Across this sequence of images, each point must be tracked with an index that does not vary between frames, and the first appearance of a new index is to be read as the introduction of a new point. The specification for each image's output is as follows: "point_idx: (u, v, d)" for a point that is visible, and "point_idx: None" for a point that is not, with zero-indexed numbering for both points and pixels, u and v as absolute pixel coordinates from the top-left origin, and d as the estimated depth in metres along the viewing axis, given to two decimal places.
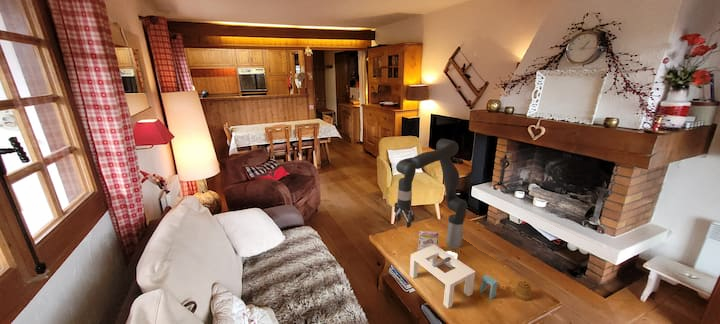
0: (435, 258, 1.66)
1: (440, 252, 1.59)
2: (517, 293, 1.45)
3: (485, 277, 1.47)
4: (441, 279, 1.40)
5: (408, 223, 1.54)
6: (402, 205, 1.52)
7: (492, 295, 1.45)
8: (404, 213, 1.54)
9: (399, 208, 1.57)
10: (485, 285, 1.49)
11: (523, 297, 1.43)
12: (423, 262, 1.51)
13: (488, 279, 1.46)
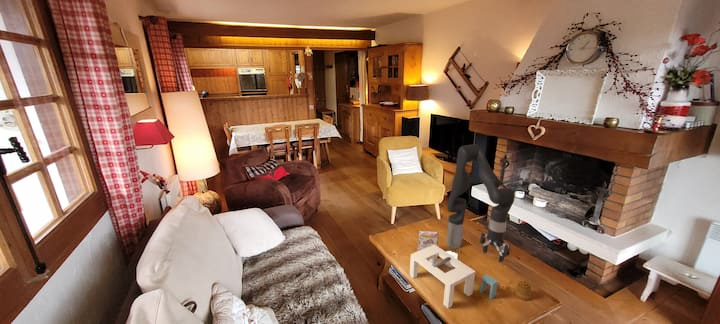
0: (435, 258, 1.66)
1: (440, 252, 1.59)
2: (517, 293, 1.45)
3: (485, 277, 1.47)
4: (441, 279, 1.40)
5: (501, 257, 1.36)
6: (496, 237, 1.35)
7: (492, 295, 1.45)
8: (497, 246, 1.36)
9: (489, 240, 1.39)
10: (485, 285, 1.49)
11: (523, 297, 1.43)
12: (423, 262, 1.51)
13: (488, 279, 1.46)
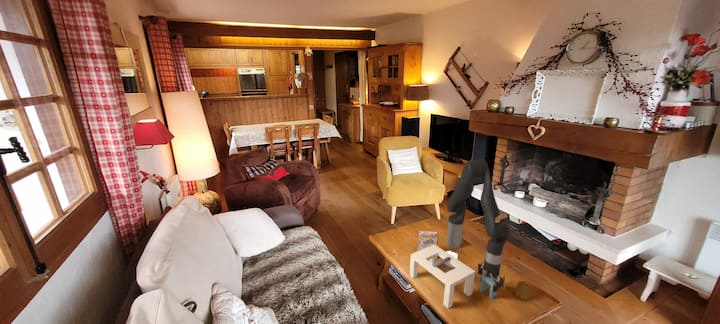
0: (435, 258, 1.66)
1: (440, 252, 1.59)
2: (517, 293, 1.45)
3: (485, 277, 1.47)
4: (441, 279, 1.40)
5: (495, 288, 1.43)
6: (492, 269, 1.40)
7: (492, 295, 1.45)
8: (492, 277, 1.42)
9: (485, 270, 1.44)
10: (485, 285, 1.49)
11: (523, 297, 1.43)
12: (423, 262, 1.51)
13: (488, 279, 1.46)
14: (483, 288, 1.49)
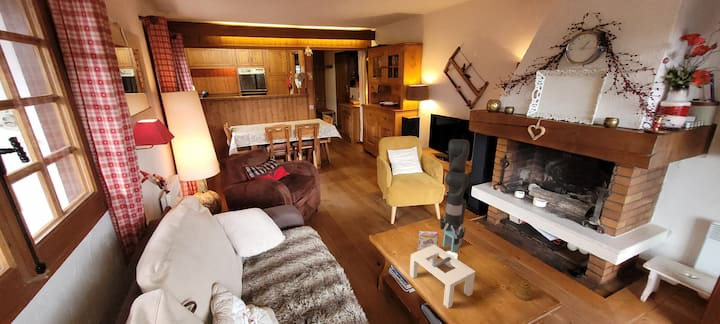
0: (435, 258, 1.66)
1: (440, 252, 1.59)
2: (517, 293, 1.45)
3: (447, 231, 1.45)
4: (441, 279, 1.40)
5: (456, 240, 1.41)
6: (452, 220, 1.38)
7: (454, 248, 1.43)
8: (453, 229, 1.41)
9: (447, 223, 1.43)
10: (448, 240, 1.48)
11: (523, 297, 1.43)
12: (423, 262, 1.51)
13: (450, 232, 1.44)
14: (445, 243, 1.48)
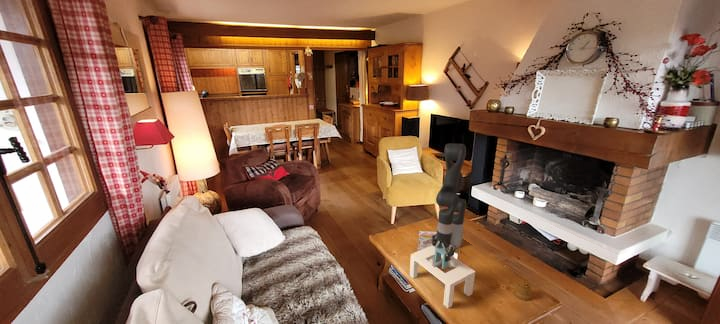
0: None
1: None
2: (517, 293, 1.45)
3: (438, 248, 1.50)
4: (441, 279, 1.40)
5: (447, 257, 1.45)
6: (442, 238, 1.43)
7: (444, 265, 1.48)
8: (444, 247, 1.45)
9: (438, 241, 1.47)
10: (439, 256, 1.52)
11: (523, 297, 1.43)
12: (423, 262, 1.51)
13: (441, 249, 1.49)
14: (437, 259, 1.52)
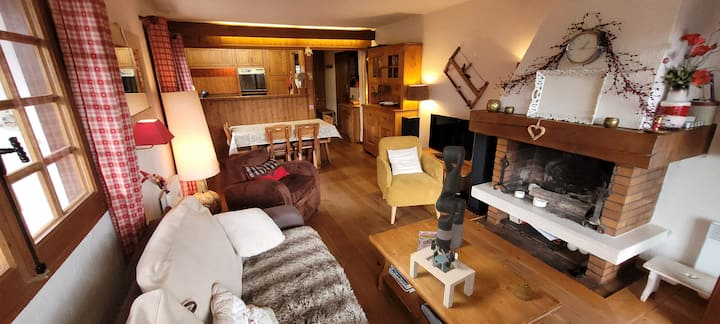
0: None
1: (440, 252, 1.59)
2: (517, 293, 1.45)
3: (437, 257, 1.51)
4: (441, 279, 1.40)
5: (448, 263, 1.46)
6: (442, 244, 1.44)
7: None
8: (444, 252, 1.46)
9: (438, 246, 1.48)
10: None
11: (523, 297, 1.43)
12: (423, 262, 1.51)
13: (440, 258, 1.50)
14: None
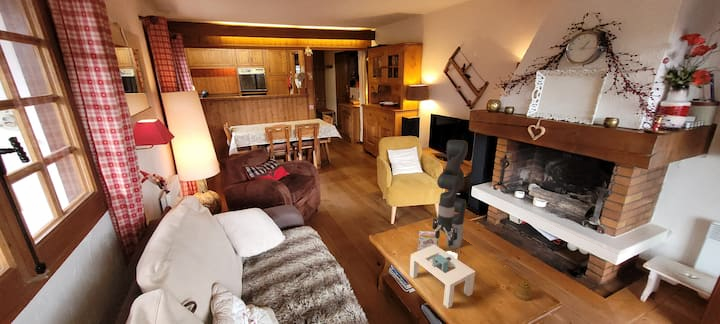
0: None
1: (440, 252, 1.59)
2: (517, 293, 1.45)
3: (437, 257, 1.51)
4: (441, 279, 1.40)
5: (450, 241, 1.42)
6: (444, 222, 1.40)
7: None
8: (446, 231, 1.42)
9: (439, 225, 1.45)
10: None
11: (523, 297, 1.43)
12: (423, 262, 1.51)
13: (440, 258, 1.50)
14: None
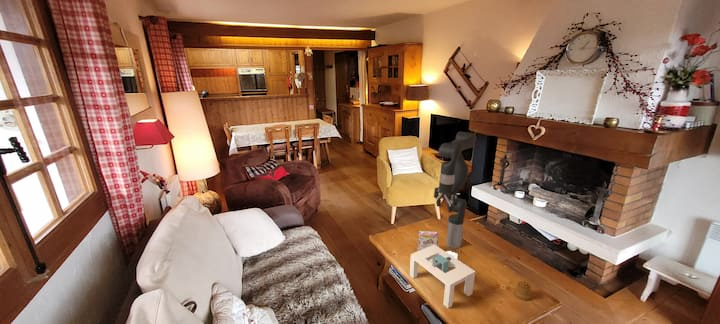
0: None
1: (440, 252, 1.59)
2: (517, 293, 1.45)
3: (437, 257, 1.51)
4: (441, 279, 1.40)
5: (450, 208, 1.52)
6: (445, 189, 1.50)
7: None
8: (446, 198, 1.52)
9: (440, 193, 1.54)
10: None
11: (523, 297, 1.43)
12: (423, 262, 1.51)
13: (440, 258, 1.50)
14: None
